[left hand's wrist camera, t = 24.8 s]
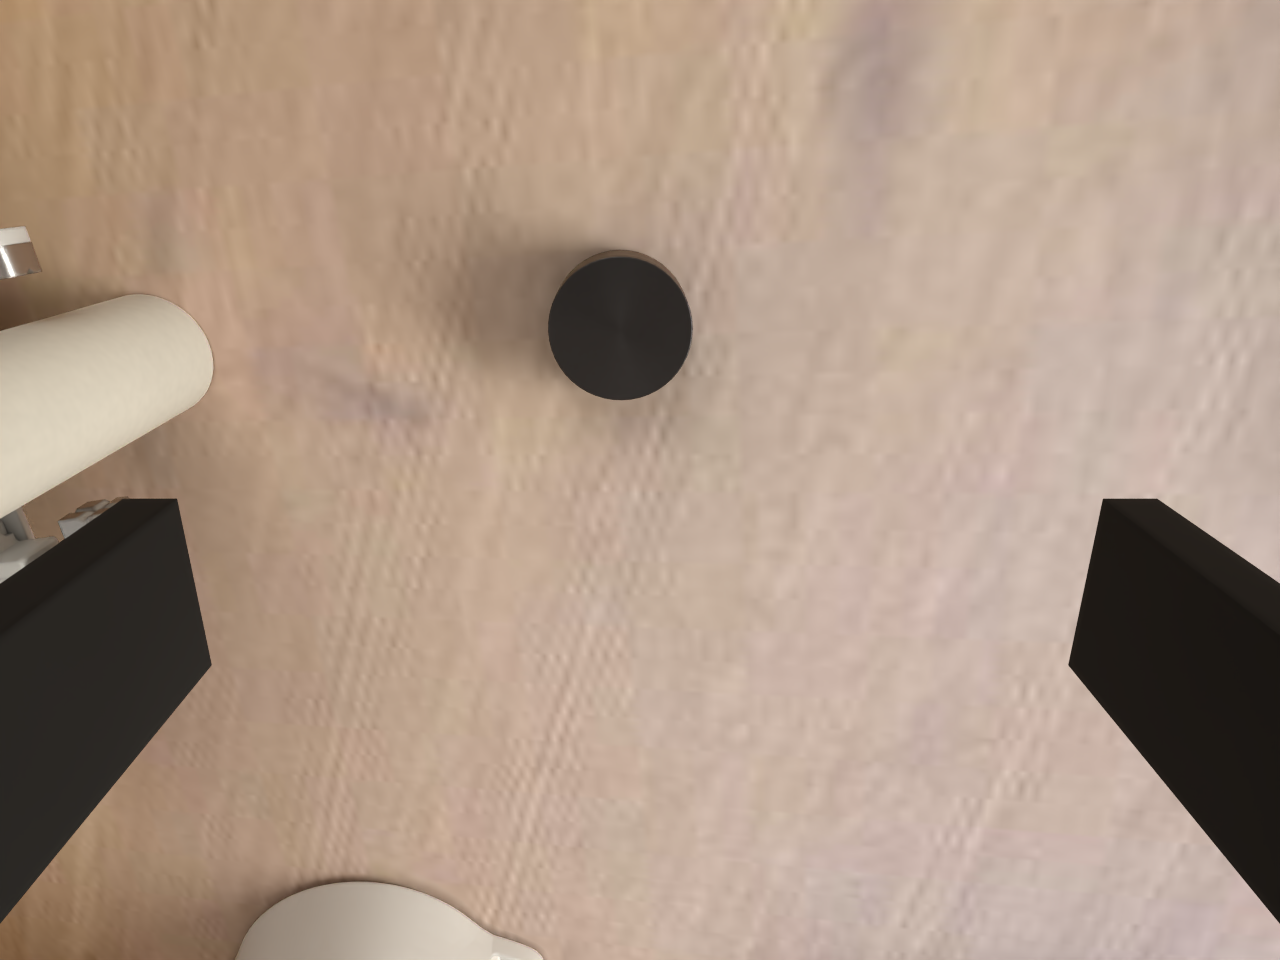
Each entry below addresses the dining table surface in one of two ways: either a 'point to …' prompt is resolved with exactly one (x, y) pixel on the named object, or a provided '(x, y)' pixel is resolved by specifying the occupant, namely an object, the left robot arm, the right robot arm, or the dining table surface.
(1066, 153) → the dining table surface
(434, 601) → the dining table surface
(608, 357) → the lid
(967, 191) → the dining table surface
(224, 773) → the dining table surface
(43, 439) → the cream bottle
